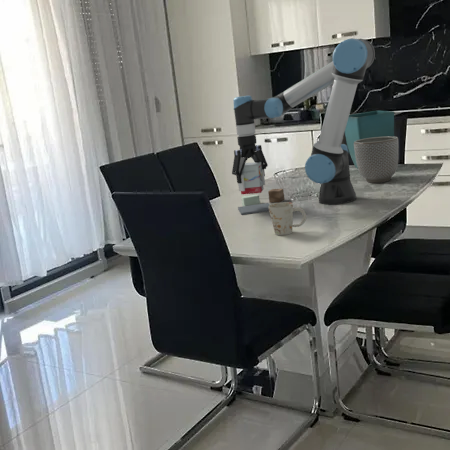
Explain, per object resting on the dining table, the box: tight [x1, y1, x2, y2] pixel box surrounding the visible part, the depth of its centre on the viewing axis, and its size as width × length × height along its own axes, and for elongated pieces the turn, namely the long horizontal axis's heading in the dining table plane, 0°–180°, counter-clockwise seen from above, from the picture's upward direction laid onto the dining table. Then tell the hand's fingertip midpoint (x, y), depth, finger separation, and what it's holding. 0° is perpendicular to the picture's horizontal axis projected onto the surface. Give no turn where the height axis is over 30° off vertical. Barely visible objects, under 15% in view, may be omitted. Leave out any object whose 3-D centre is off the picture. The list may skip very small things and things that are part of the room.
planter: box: [354, 135, 399, 184], centre depth 286 cm, size 20×20×19 cm
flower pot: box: [344, 110, 395, 170], centre depth 319 cm, size 20×20×28 cm
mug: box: [268, 201, 307, 236], centre depth 216 cm, size 8×13×10 cm, turn 95°
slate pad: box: [237, 202, 270, 216], centre depth 260 cm, size 13×13×1 cm
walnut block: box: [268, 188, 285, 204], centre depth 272 cm, size 5×5×5 cm
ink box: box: [240, 162, 265, 195], centre depth 258 cm, size 9×9×12 cm
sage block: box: [240, 193, 261, 207], centre depth 271 cm, size 4×7×4 cm, turn 104°
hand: (252, 187), depth 258 cm, fingers closed on ink box, 11 cm apart
